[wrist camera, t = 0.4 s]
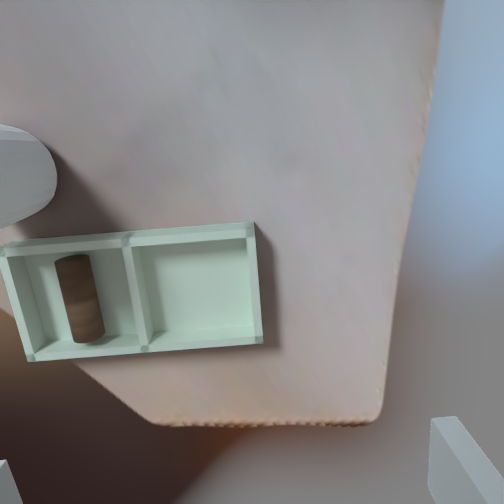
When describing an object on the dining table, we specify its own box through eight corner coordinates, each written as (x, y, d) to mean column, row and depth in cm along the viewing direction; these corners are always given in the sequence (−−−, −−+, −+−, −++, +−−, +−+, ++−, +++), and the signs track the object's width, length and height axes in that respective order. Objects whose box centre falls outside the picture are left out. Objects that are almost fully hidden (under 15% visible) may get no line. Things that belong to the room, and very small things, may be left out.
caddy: (14, 240, 36) (-6, 249, 33) (253, 221, 36) (254, 228, 33) (43, 345, 39) (27, 361, 37) (261, 328, 39) (263, 343, 36)
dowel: (62, 255, 36) (47, 265, 33) (93, 253, 36) (81, 262, 33) (80, 329, 38) (67, 344, 36) (109, 326, 38) (99, 341, 36)
